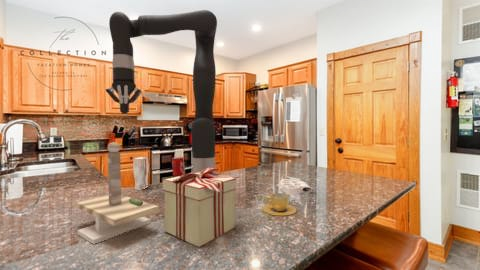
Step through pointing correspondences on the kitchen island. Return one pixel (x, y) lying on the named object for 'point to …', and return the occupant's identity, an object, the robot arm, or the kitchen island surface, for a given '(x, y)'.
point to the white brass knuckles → (293, 186)
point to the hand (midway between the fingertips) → (124, 113)
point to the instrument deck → (116, 210)
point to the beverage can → (178, 166)
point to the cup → (278, 204)
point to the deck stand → (109, 229)
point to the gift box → (199, 206)
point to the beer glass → (140, 172)
